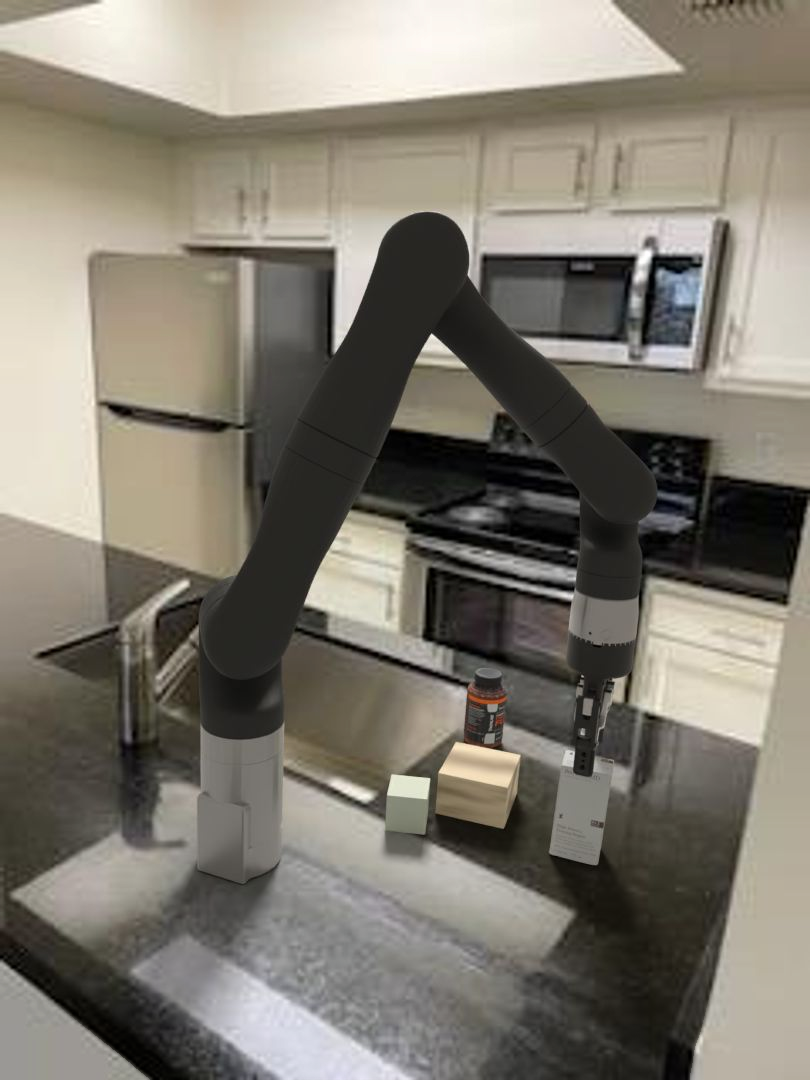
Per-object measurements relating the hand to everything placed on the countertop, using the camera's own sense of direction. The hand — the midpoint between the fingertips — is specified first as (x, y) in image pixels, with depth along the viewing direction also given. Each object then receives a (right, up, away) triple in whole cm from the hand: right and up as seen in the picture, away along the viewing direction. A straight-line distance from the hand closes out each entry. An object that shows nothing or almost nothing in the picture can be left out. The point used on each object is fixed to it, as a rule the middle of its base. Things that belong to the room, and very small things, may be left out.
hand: (588, 757), depth 100 cm
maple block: (-12, -9, +12) cm, 20 cm away
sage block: (-22, -10, +7) cm, 25 cm away
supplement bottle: (-10, -5, +29) cm, 31 cm away
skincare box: (-1, -12, +3) cm, 13 cm away
